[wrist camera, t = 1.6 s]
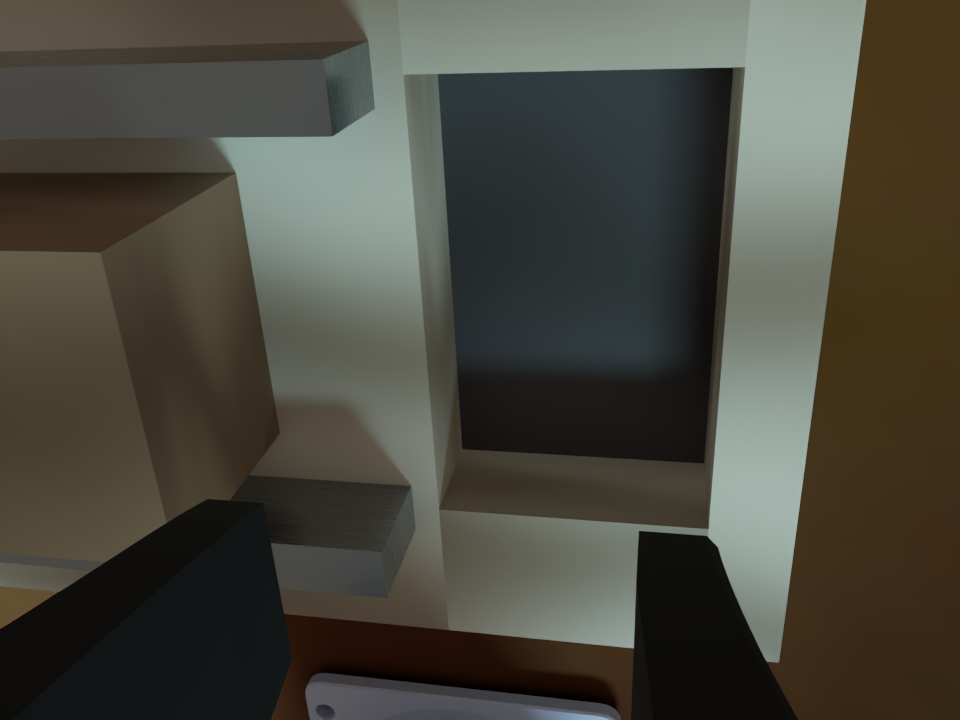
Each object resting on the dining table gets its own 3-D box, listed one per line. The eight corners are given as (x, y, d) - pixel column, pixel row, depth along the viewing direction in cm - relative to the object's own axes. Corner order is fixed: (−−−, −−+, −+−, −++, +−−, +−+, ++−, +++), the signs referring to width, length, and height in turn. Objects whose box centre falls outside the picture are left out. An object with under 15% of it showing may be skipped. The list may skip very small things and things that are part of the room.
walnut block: (279, 433, 17) (177, 568, 13) (45, 419, 18) (-108, 543, 14) (235, 172, 15) (99, 251, 11) (-29, 173, 16) (-231, 246, 12)
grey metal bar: (415, 529, 17) (387, 598, 16) (-34, 494, 19) (-105, 552, 17) (368, 40, 13) (323, 59, 12) (-191, 57, 15) (-303, 75, 13)
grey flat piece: (766, 577, 19) (778, 662, 17) (-293, 491, 25) (-387, 548, 22) (854, -172, 13) (891, -190, 11) (-581, -73, 18) (-750, -72, 16)
